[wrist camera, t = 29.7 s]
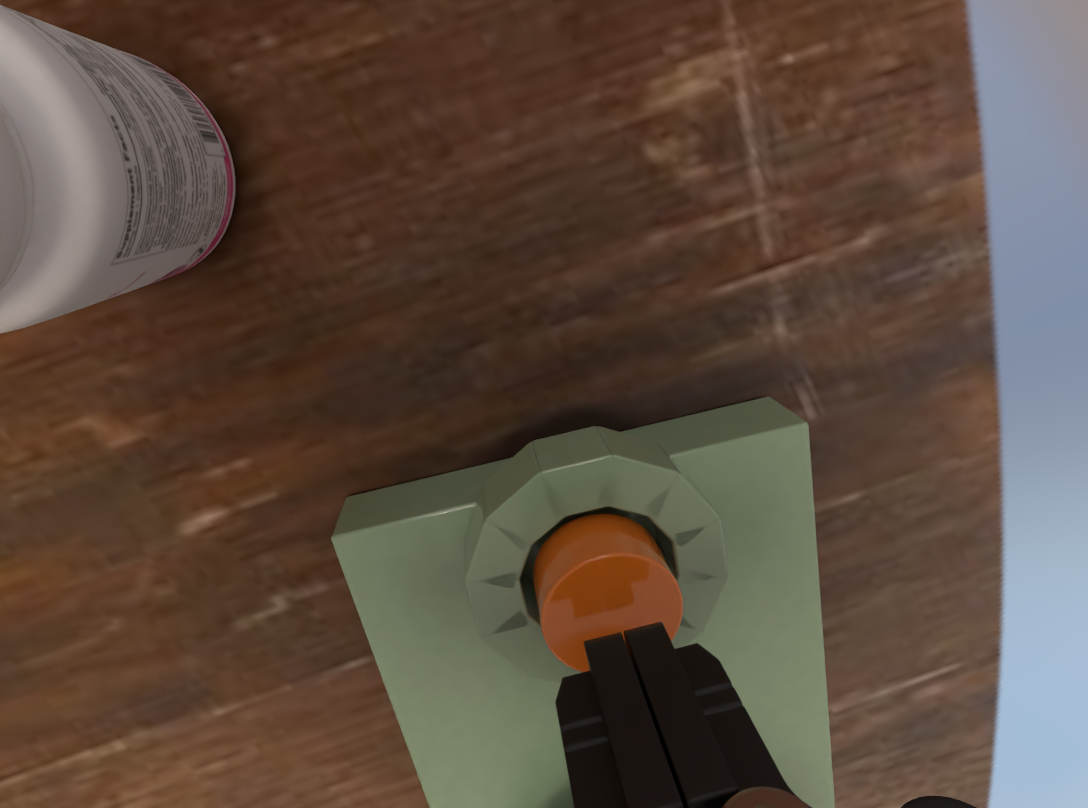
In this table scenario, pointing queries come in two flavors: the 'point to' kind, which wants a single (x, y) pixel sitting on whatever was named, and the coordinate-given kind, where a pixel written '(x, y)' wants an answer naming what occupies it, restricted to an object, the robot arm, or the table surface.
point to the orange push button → (601, 584)
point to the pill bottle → (98, 173)
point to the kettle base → (511, 608)
